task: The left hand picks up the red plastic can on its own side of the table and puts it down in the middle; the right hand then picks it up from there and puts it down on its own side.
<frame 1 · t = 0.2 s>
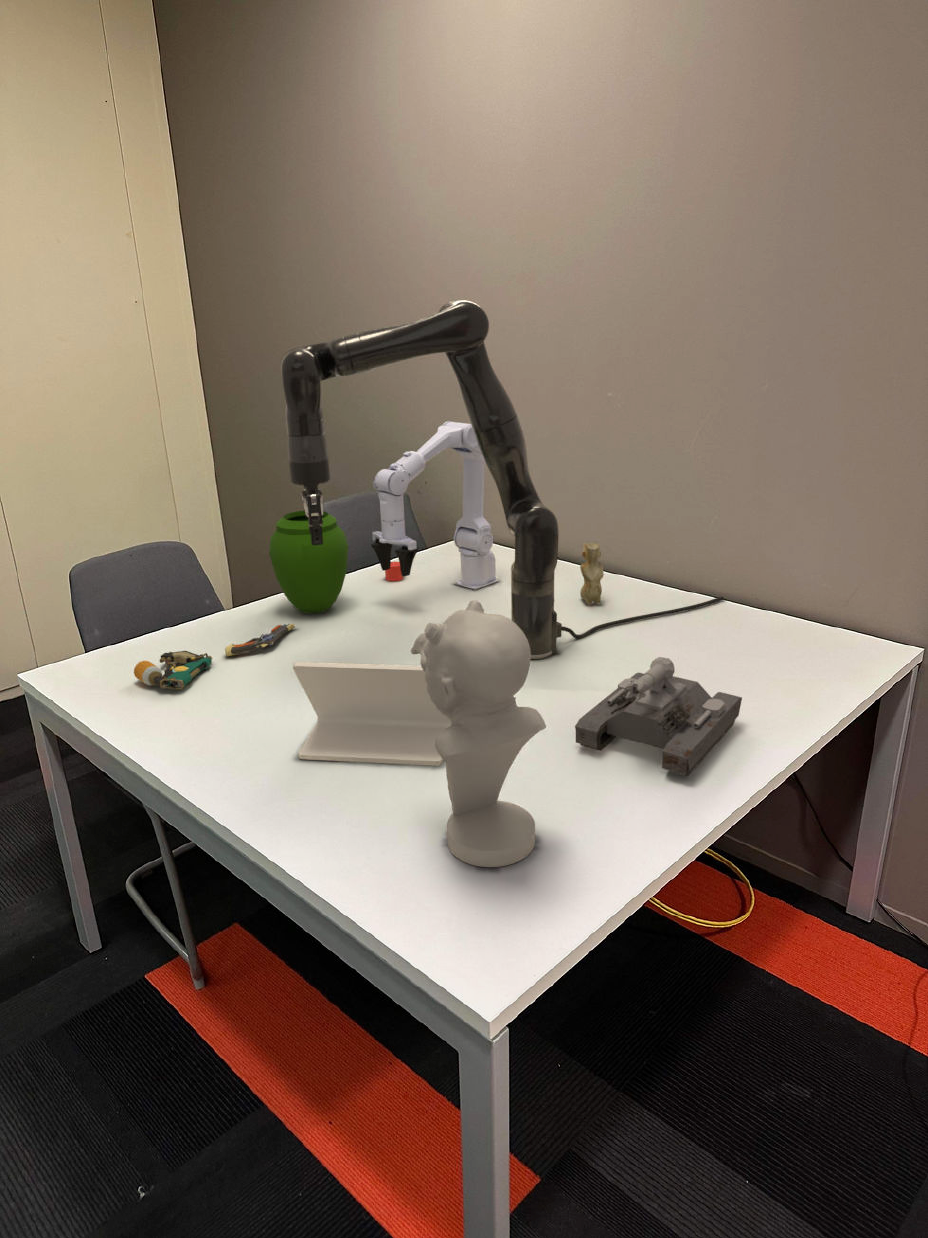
left hand: (395, 572, 212), 10 cm above the table, tool pointing down, fingers open, 7 cm apart
right hand: (316, 539, 169), 29 cm above the table, tool pointing down, fingers open, 8 cm apart
toy: (659, 736, 150), on the table
multicoloured piece: (177, 676, 181), on the table
can: (394, 578, 240), on the table
tablet stand: (380, 737, 153), on the table
vase: (314, 609, 218), on the table
toy gun: (261, 643, 197), on the table
bust sculpture: (470, 832, 125), on the table
sculpture: (591, 602, 217), on the table
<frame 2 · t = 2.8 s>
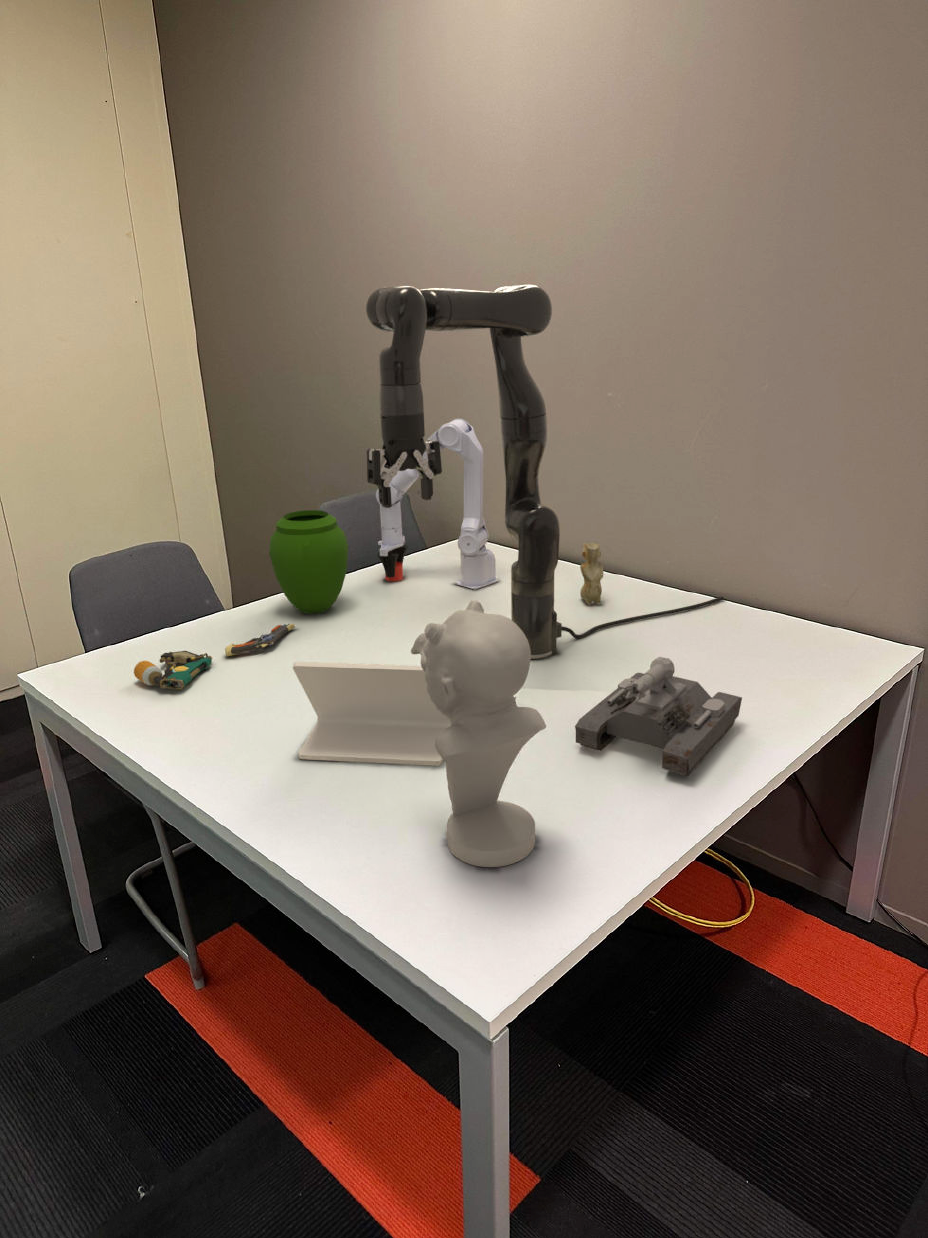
left hand: (394, 573, 239), 1 cm above the table, tool pointing down, fingers closed on can, 5 cm apart
right hand: (406, 503, 153), 39 cm above the table, tool pointing down, fingers open, 8 cm apart
can: (394, 578, 240), on the table, touching left hand
everything else where it was.
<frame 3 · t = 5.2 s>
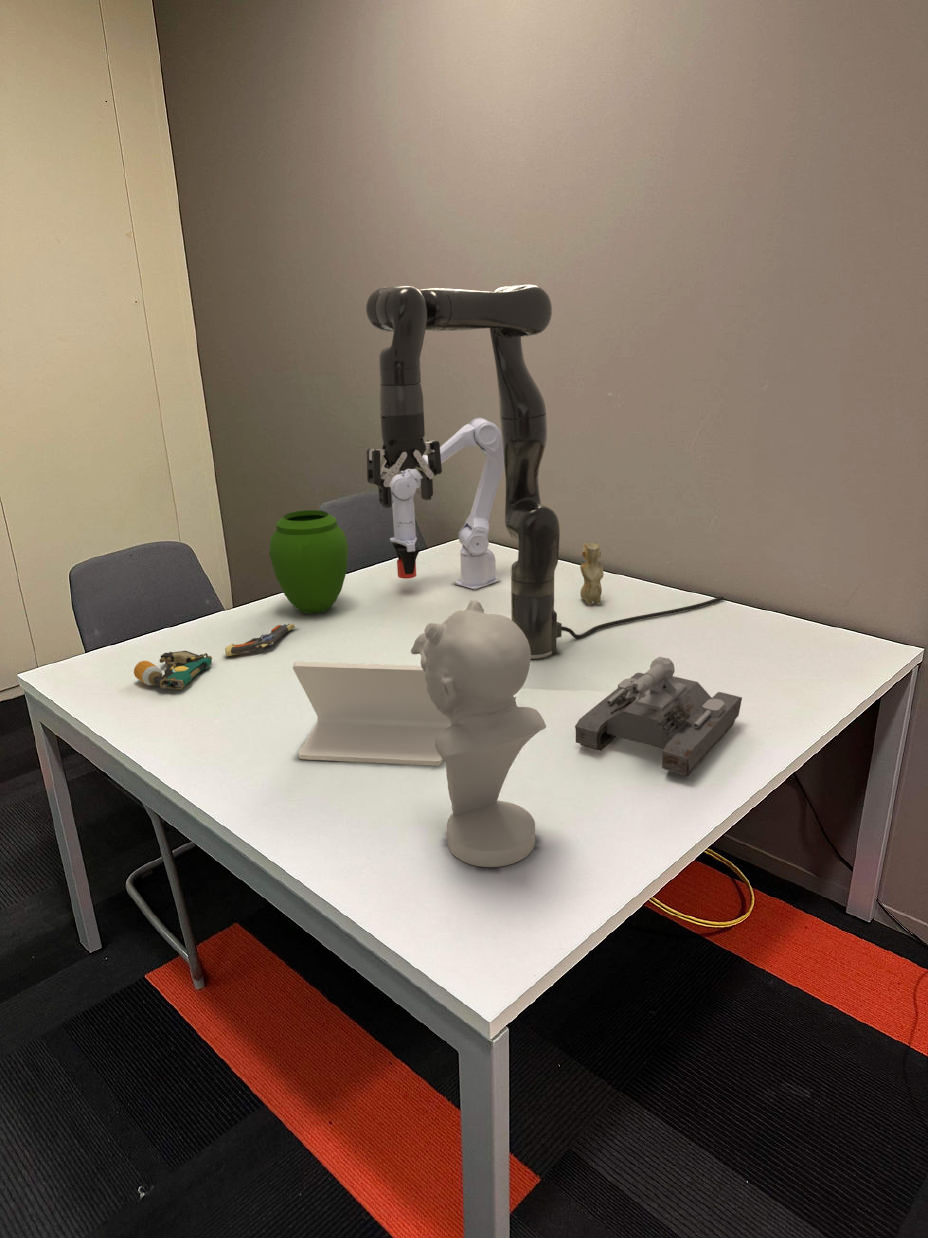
left hand: (406, 570, 228), 6 cm above the table, tool pointing down, fingers closed on can, 5 cm apart
right hand: (406, 503, 153), 39 cm above the table, tool pointing down, fingers open, 8 cm apart
can: (407, 575, 228), point 4 cm above the table, touching left hand
everything else where it was.
when the left hand's fingers open (2 cm above the table, at t = 7.7 s): can stays where it is, on the table.
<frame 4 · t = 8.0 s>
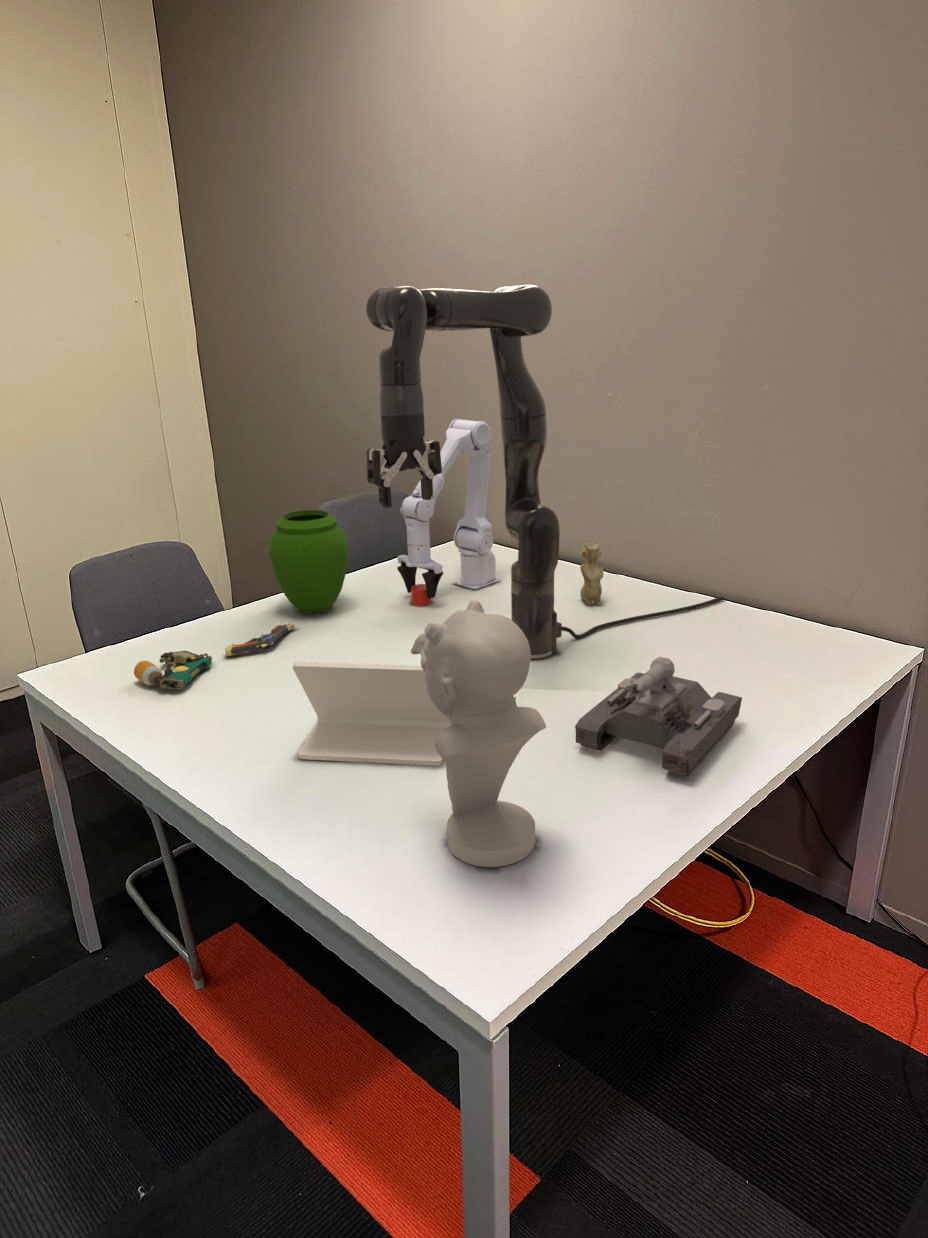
left hand: (421, 594, 220), 2 cm above the table, tool pointing down, fingers open, 7 cm apart
right hand: (406, 503, 153), 39 cm above the table, tool pointing down, fingers open, 8 cm apart
can: (421, 602, 220), on the table
everything else where it was.
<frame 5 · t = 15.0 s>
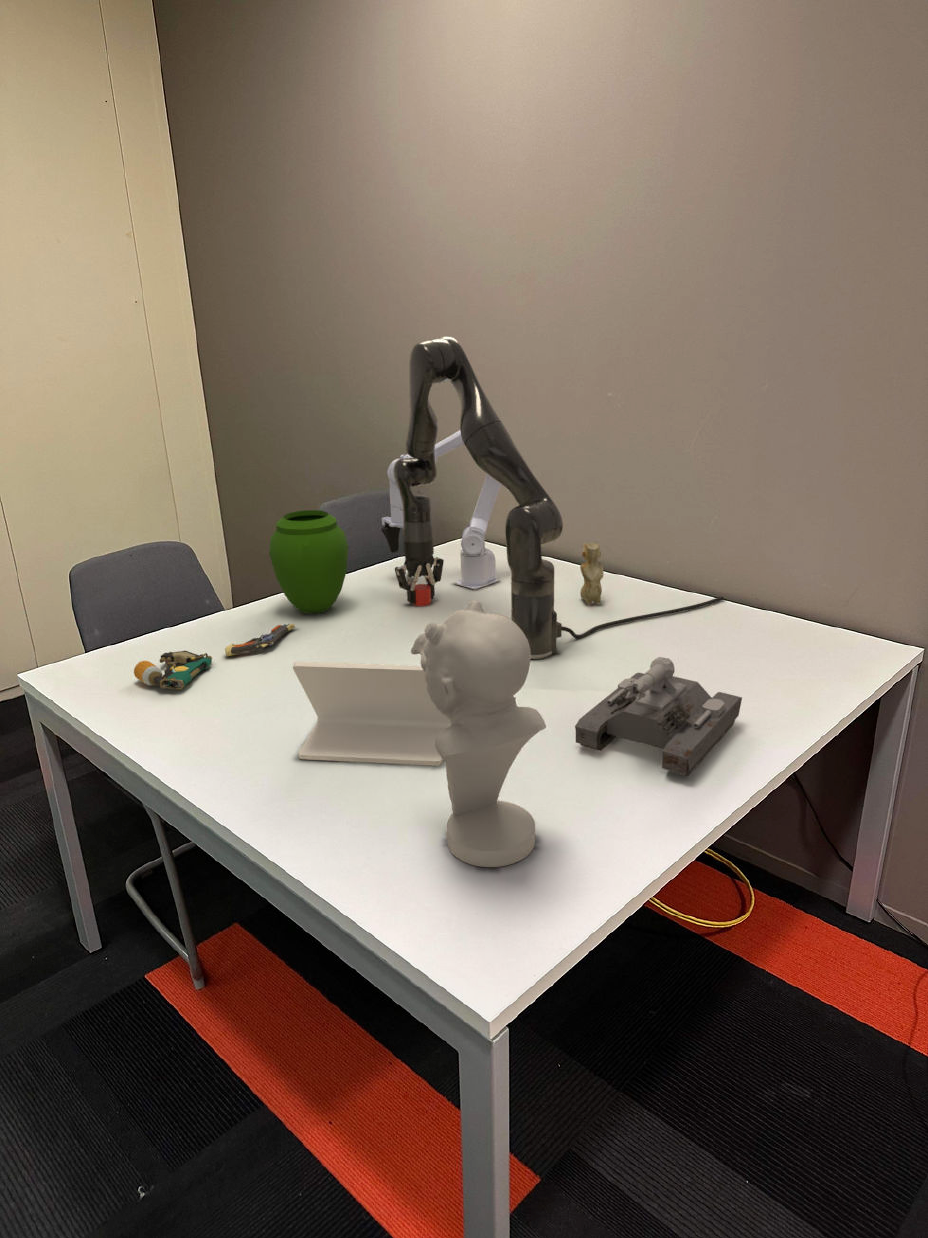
left hand: (403, 554, 231), 9 cm above the table, tool pointing down, fingers open, 7 cm apart
right hand: (421, 600, 220), 1 cm above the table, tool pointing down, fingers closed on can, 5 cm apart
can: (421, 602, 220), on the table, touching right hand
everything else where it was.
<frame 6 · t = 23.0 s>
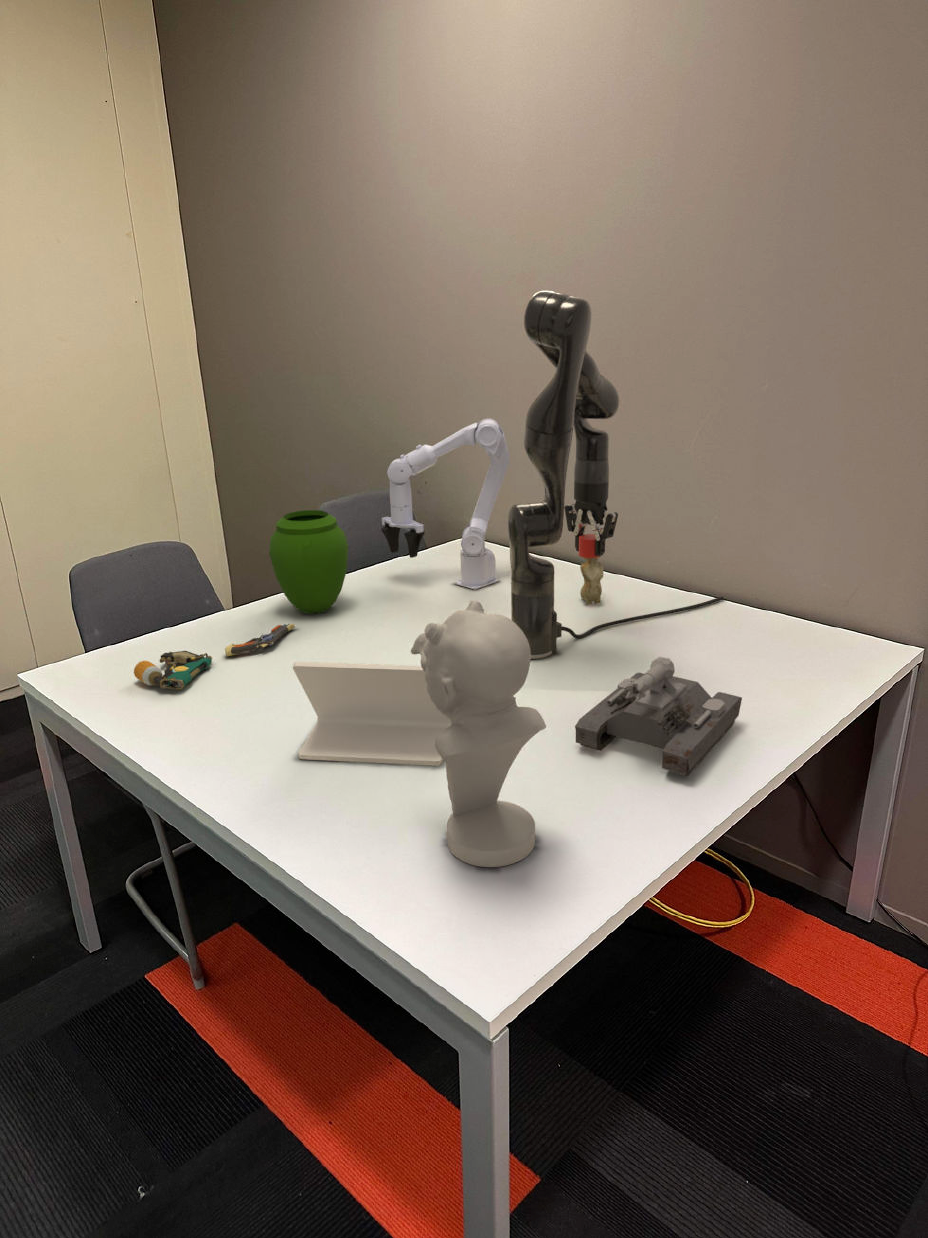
left hand: (403, 554, 231), 9 cm above the table, tool pointing down, fingers open, 7 cm apart
right hand: (589, 552, 193), 18 cm above the table, tool pointing down, fingers closed on can, 5 cm apart
can: (589, 555, 194), point 18 cm above the table, touching right hand
everything else where it was.
when the right hand's fingers open (1 cm above the table, at t = 31.0 s): can stays where it is, on the table.
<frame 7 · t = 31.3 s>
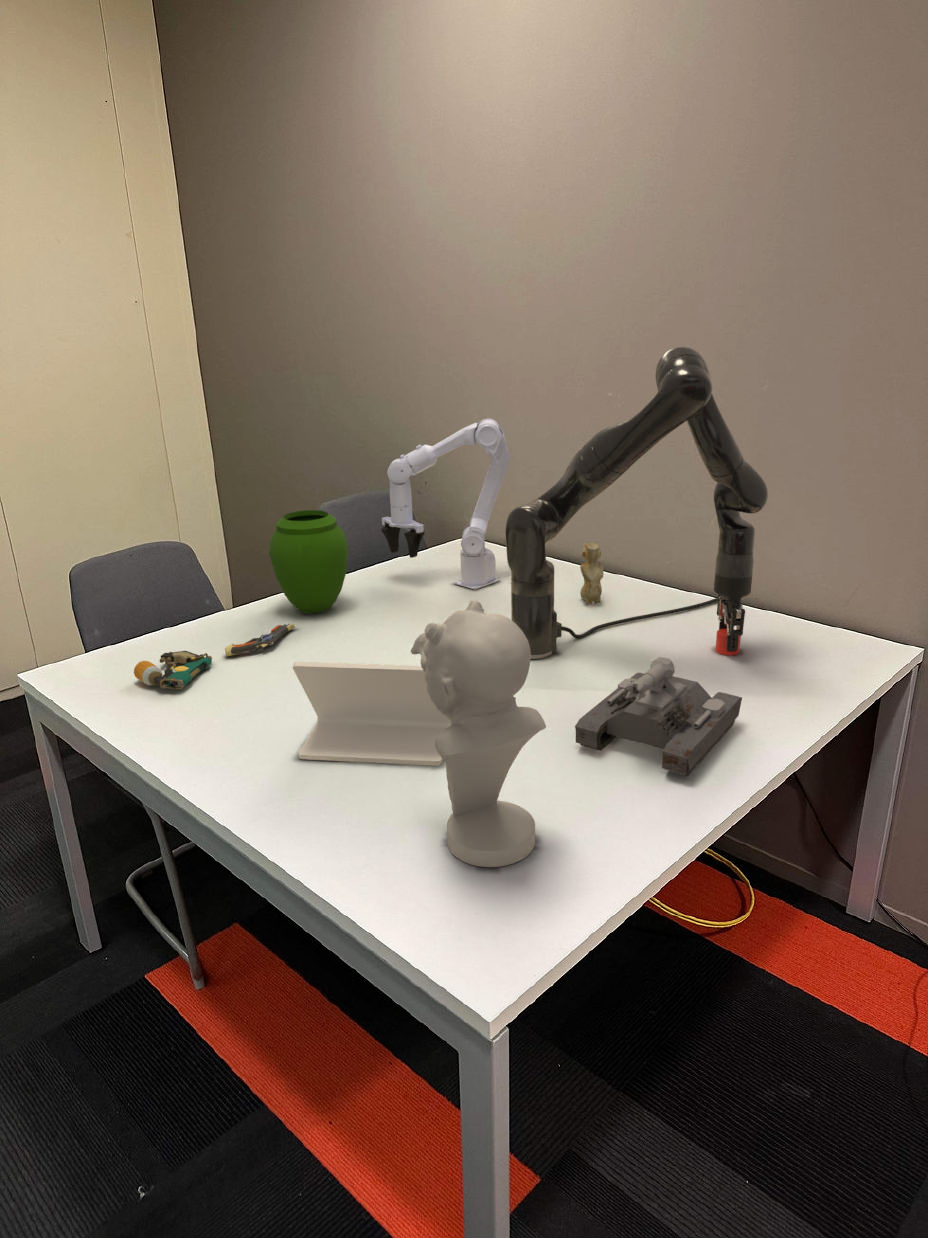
left hand: (403, 554, 231), 9 cm above the table, tool pointing down, fingers open, 7 cm apart
right hand: (727, 644, 185), 2 cm above the table, tool pointing down, fingers open, 7 cm apart
can: (727, 650, 185), on the table
everything else where it was.
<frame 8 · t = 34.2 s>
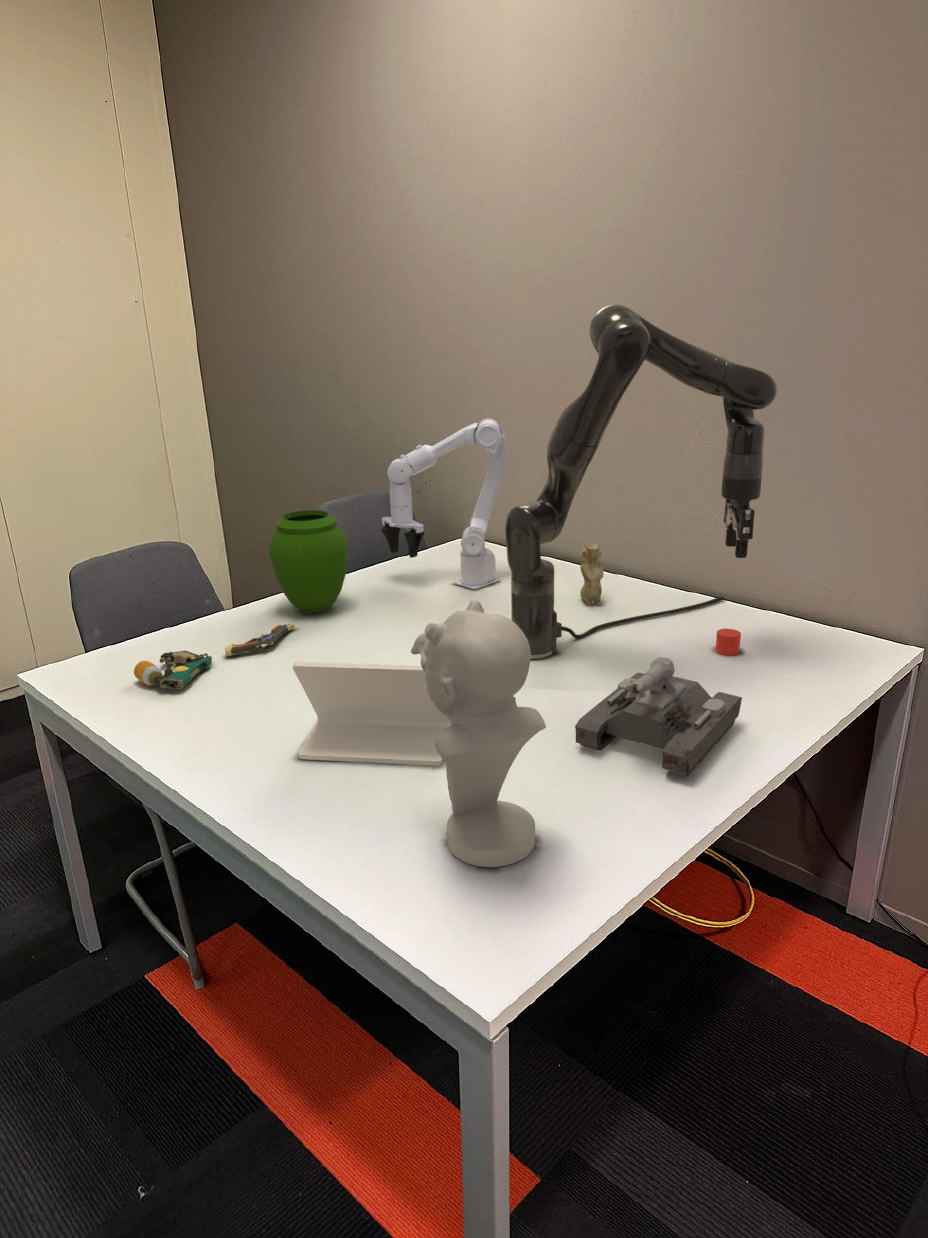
left hand: (403, 554, 231), 9 cm above the table, tool pointing down, fingers open, 7 cm apart
right hand: (735, 551, 177), 22 cm above the table, tool pointing down, fingers open, 8 cm apart
nothing on the table moved.
at the end: can inside the target area (0.1 cm from its centre), on the table; can tilted 0°; the two hands never held the can at the same time; the left hand is holding nothing; the right hand is holding nothing; can at rest at the end (0.0 cm/s) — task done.
